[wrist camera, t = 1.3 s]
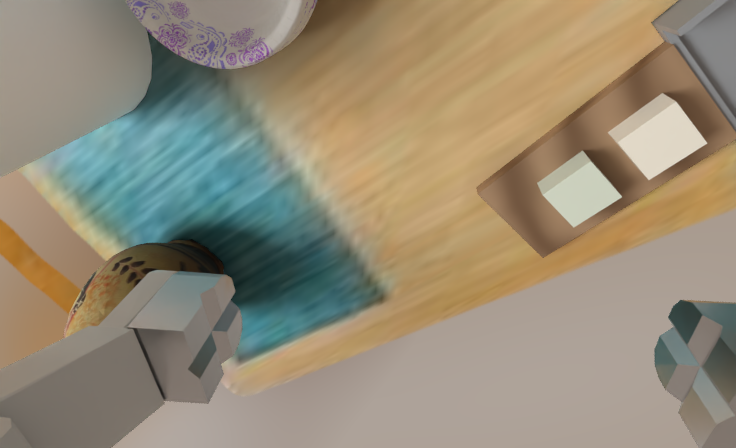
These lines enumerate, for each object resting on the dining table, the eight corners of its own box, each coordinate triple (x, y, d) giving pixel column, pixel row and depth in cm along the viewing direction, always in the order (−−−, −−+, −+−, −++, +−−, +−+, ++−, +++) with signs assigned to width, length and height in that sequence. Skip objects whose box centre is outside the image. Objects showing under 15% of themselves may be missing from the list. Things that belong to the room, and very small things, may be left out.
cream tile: (662, 93, 36) (676, 101, 34) (692, 132, 37) (707, 143, 35) (607, 132, 38) (617, 142, 36) (637, 168, 40) (648, 180, 38)
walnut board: (664, 41, 35) (673, 44, 34) (729, 131, 38) (739, 136, 37) (476, 187, 45) (477, 194, 43) (540, 250, 48) (543, 257, 46)
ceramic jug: (127, 204, 53) (-154, 429, 28) (246, 235, 53) (73, 489, 28) (139, 300, 62) (-63, 533, 37) (240, 327, 62) (107, 577, 37)
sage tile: (582, 150, 40) (590, 161, 37) (612, 184, 41) (622, 197, 39) (537, 183, 42) (542, 194, 40) (567, 214, 43) (573, 227, 41)
